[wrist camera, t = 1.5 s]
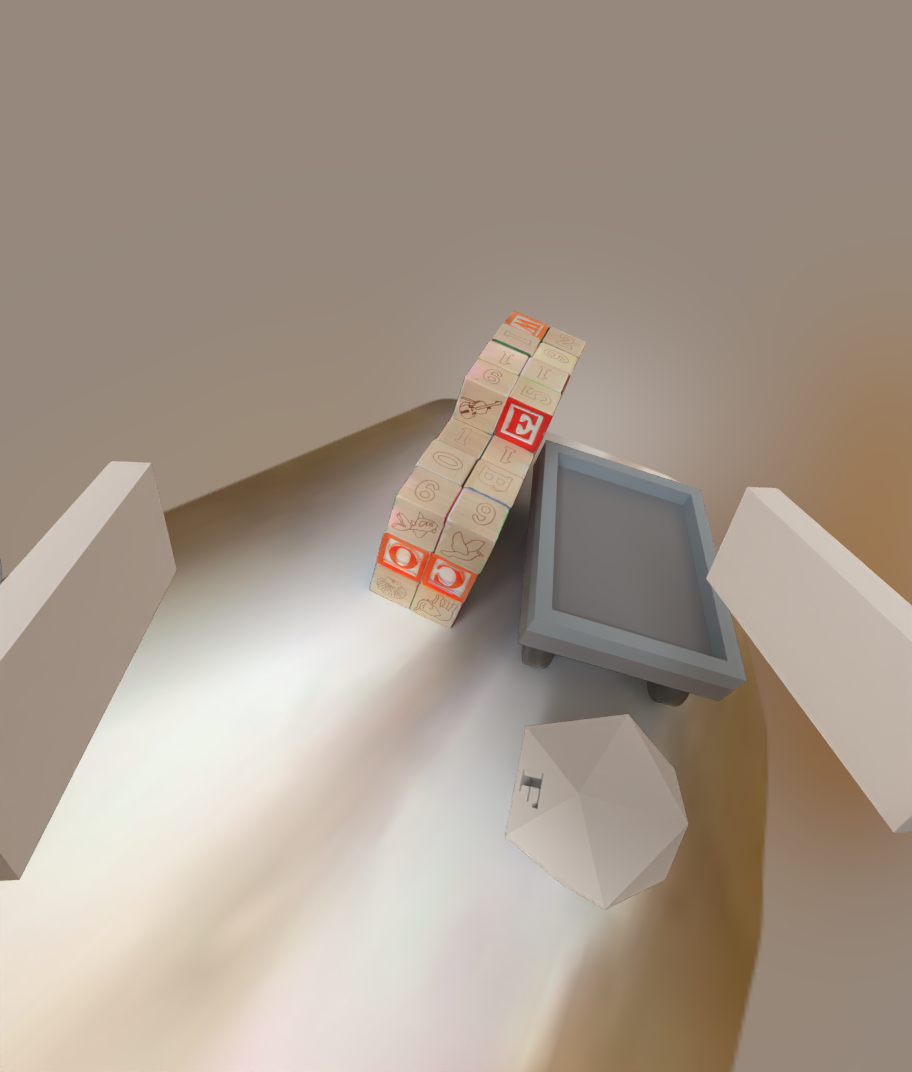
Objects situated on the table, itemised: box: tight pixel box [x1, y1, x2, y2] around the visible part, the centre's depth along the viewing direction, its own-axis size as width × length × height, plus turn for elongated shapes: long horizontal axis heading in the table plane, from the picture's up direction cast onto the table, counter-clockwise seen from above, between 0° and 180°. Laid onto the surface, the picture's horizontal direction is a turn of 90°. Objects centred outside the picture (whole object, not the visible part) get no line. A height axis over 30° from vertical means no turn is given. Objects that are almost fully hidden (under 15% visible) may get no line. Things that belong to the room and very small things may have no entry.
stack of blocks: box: [369, 311, 586, 628], centre depth 40 cm, size 21×6×12 cm, turn 159°
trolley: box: [518, 440, 747, 707], centre depth 39 cm, size 13×17×6 cm
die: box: [505, 714, 688, 910], centre depth 27 cm, size 8×9×10 cm
